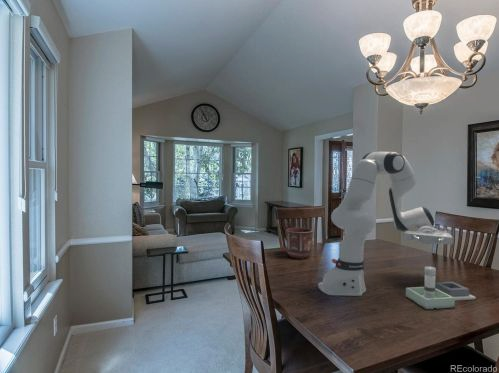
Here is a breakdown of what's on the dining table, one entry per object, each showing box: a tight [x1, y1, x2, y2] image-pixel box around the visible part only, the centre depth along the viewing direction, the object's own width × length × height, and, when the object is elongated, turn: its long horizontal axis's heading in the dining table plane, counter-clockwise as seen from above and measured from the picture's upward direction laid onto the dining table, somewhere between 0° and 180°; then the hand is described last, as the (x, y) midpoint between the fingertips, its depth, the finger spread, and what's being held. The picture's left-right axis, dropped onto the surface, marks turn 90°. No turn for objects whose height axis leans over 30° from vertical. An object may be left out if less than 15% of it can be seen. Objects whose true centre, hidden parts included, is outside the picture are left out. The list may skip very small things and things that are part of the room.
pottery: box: [285, 227, 314, 260], centre depth 204 cm, size 18×18×18 cm
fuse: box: [423, 265, 437, 299], centre depth 132 cm, size 4×4×14 cm
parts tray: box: [405, 286, 456, 310], centre depth 133 cm, size 13×13×4 cm
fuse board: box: [435, 281, 477, 301], centre depth 141 cm, size 13×13×4 cm
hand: (428, 240), depth 141 cm, fingers open, 8 cm apart
